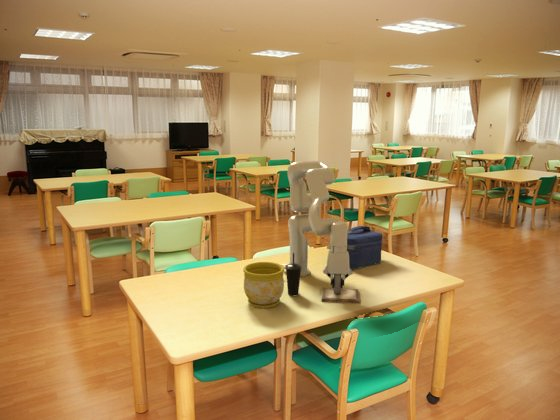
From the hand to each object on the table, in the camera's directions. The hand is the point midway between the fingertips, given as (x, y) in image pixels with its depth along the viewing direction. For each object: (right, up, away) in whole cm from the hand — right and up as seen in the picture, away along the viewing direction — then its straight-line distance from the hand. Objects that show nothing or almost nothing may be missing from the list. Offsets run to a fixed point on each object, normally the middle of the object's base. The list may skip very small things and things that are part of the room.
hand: (337, 286), depth 203 cm
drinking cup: (-20, -4, +4) cm, 21 cm away
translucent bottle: (0, -3, +1) cm, 3 cm away
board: (+2, -5, +2) cm, 5 cm away
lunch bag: (+17, +5, +52) cm, 55 cm away
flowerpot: (-34, -6, -6) cm, 35 cm away
